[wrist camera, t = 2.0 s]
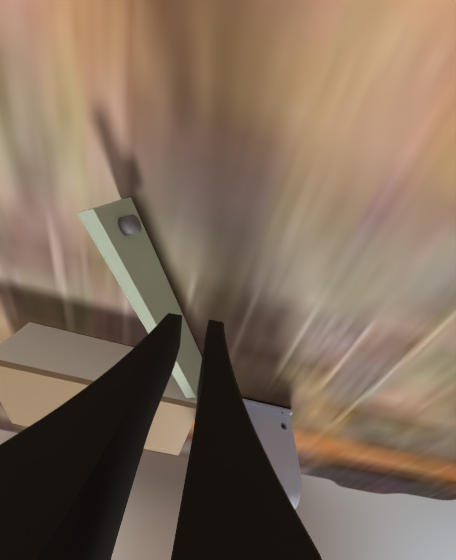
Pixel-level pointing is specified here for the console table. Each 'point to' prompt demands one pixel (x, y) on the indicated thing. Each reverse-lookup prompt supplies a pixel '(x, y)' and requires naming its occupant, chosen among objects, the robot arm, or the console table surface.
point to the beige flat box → (77, 380)
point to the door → (142, 279)
